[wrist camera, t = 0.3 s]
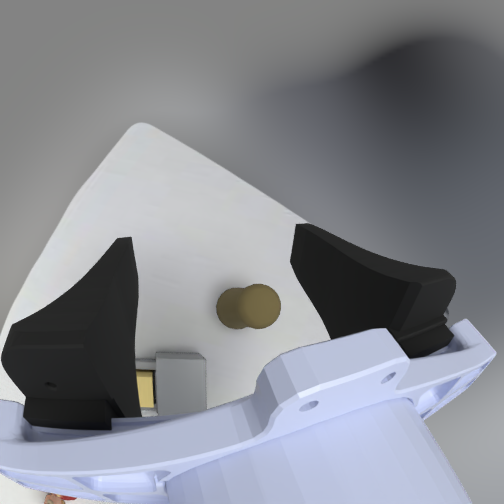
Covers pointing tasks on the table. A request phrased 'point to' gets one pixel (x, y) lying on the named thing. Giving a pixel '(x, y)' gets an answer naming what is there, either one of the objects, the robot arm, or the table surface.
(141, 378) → the tall tan block
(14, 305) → the table surface
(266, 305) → the cork
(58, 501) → the grandmother figurine
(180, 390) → the grey boxy piece
